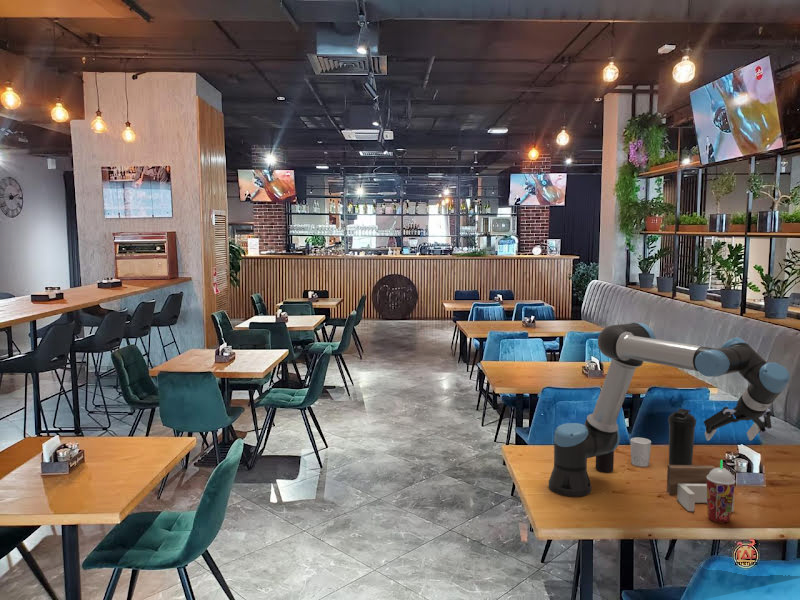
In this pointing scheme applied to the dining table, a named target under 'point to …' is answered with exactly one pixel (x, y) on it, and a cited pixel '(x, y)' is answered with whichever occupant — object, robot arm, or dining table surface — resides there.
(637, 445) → the white cup
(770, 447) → the dining table surface
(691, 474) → the backstop wall
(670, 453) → the water bottle
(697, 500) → the frame
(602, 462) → the vinegar
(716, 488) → the smoothie
